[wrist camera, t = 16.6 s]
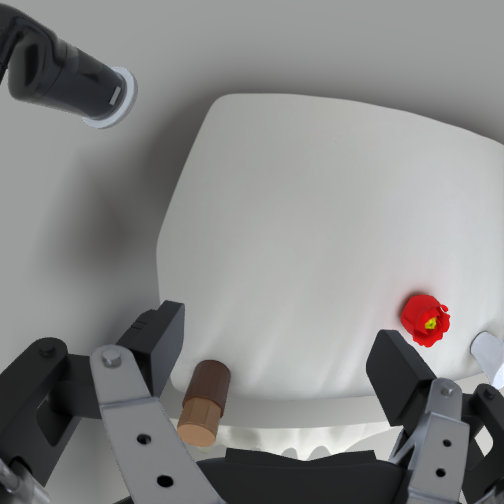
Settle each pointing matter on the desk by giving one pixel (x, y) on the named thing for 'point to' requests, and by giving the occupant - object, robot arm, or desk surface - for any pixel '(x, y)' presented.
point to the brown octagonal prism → (199, 422)
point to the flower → (425, 319)
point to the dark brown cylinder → (209, 383)
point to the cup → (490, 357)
